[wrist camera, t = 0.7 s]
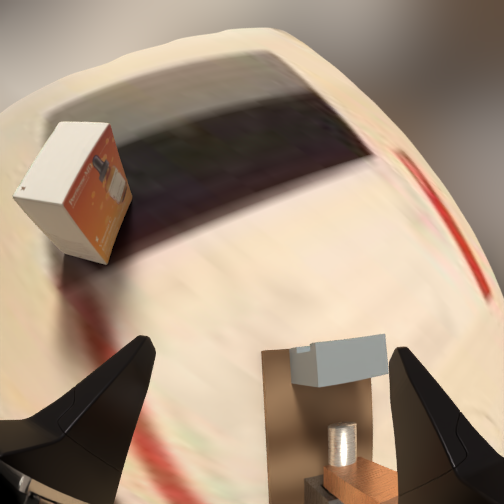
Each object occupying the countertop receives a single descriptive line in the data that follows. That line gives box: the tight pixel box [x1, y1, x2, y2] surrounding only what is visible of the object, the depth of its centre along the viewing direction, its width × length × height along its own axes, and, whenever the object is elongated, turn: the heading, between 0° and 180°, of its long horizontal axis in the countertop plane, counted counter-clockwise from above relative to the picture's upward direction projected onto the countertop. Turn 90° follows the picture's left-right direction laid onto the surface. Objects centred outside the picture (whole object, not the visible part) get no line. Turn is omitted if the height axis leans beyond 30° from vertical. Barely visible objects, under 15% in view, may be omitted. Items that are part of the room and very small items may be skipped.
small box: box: [13, 122, 132, 265], centre depth 20 cm, size 8×6×10 cm
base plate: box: [261, 349, 373, 504], centre depth 20 cm, size 18×10×1 cm, turn 3°
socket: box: [289, 334, 389, 387], centre depth 20 cm, size 3×6×6 cm, turn 93°
